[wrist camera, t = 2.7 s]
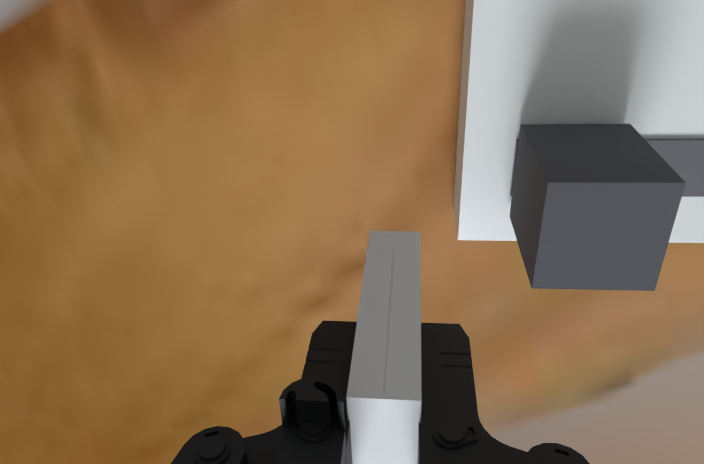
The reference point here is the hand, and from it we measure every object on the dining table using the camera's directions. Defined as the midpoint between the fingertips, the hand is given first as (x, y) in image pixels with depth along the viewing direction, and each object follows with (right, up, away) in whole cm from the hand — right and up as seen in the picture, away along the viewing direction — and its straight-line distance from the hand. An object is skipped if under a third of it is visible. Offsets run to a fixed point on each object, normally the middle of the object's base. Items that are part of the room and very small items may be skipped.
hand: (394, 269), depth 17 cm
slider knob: (+7, +4, +5) cm, 9 cm away
